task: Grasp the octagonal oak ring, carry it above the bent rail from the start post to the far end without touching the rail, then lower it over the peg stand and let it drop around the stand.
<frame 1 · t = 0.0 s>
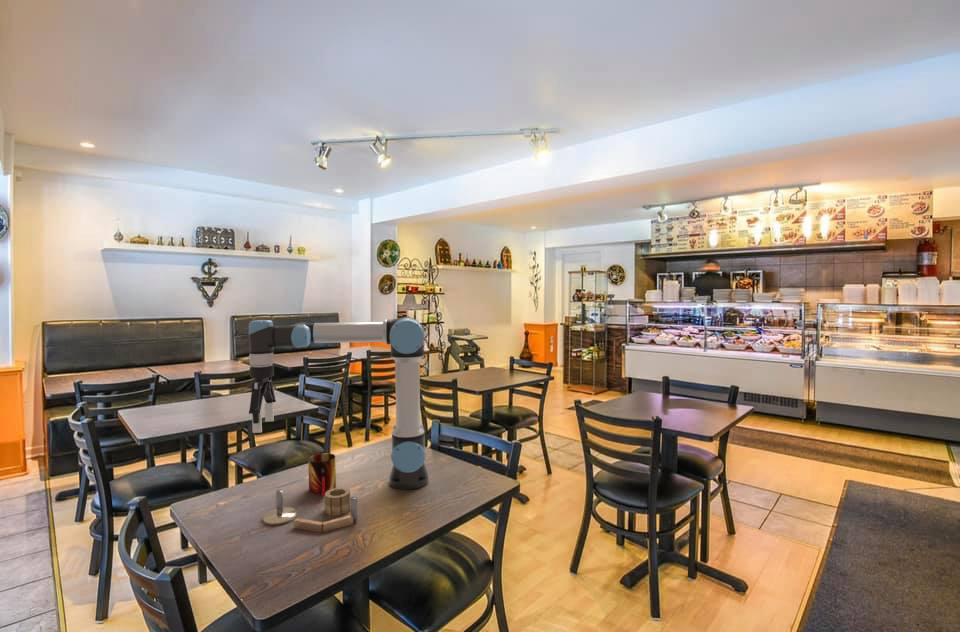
hand: (263, 426, 162), 28 cm above the table, fingers open, 13 cm apart
oak ring: (337, 509, 161), on the table
bent rail: (322, 526, 150), on the table
peg stand: (280, 517, 155), on the table
mug: (325, 491, 177), on the table
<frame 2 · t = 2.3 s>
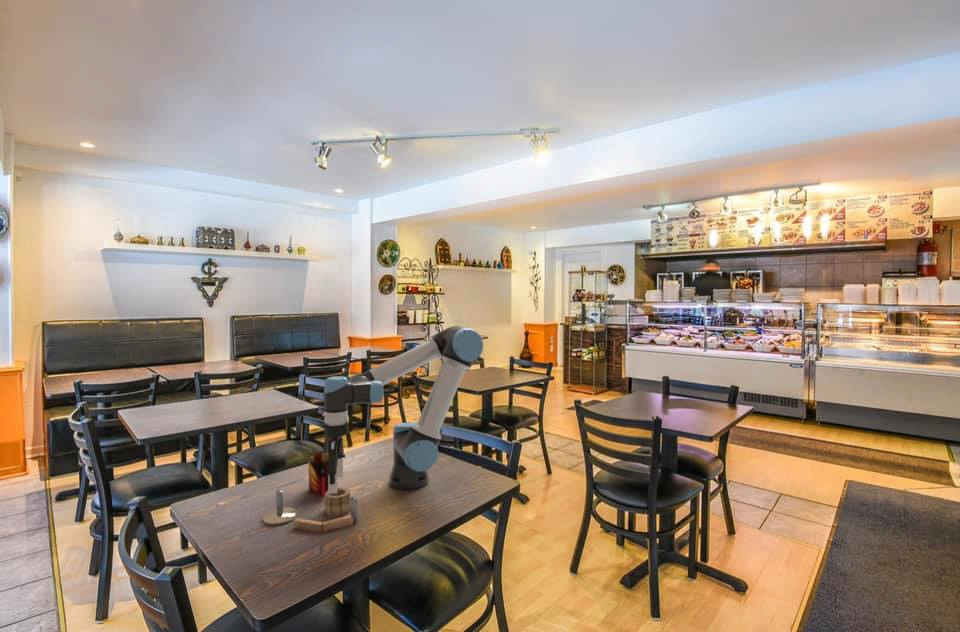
hand: (335, 484, 160), 9 cm above the table, fingers open, 13 cm apart
nothing on the table moved.
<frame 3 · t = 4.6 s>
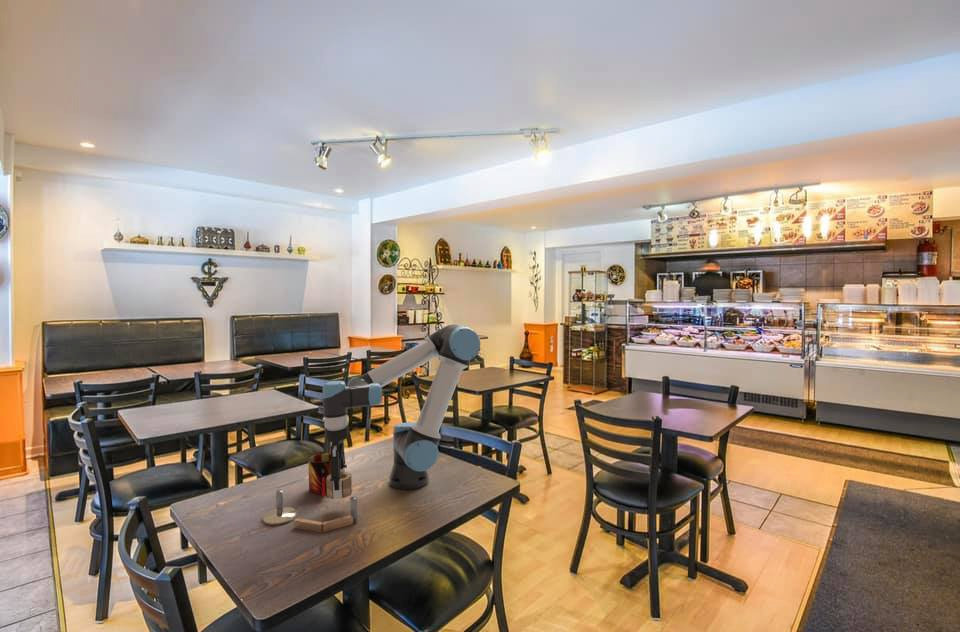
hand: (339, 492, 161), 6 cm above the table, fingers closed on oak ring, 8 cm apart
oak ring: (339, 493, 161), point 5 cm above the table, touching gripper
everything else where it was.
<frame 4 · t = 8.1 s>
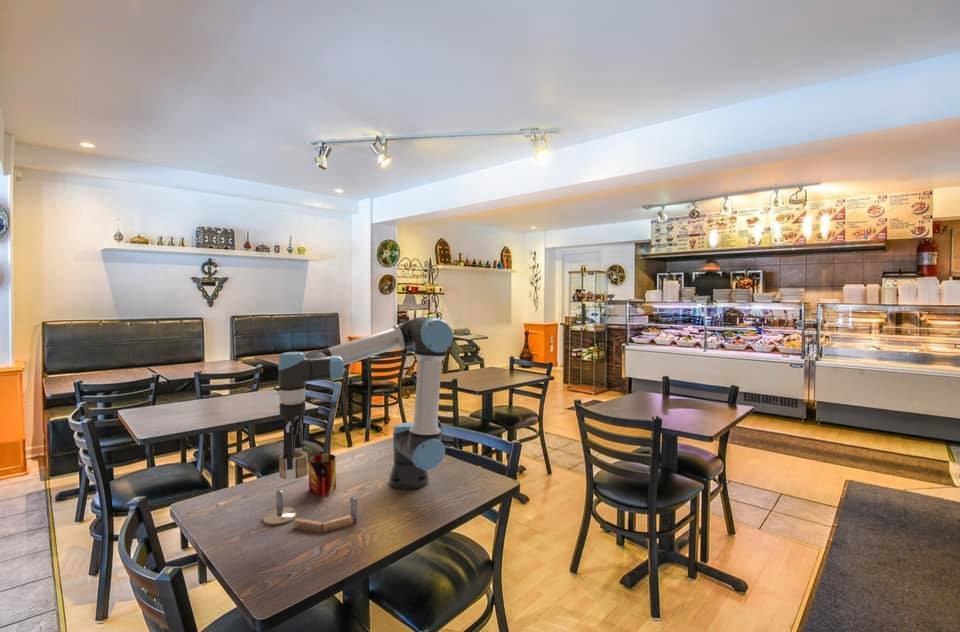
hand: (294, 473, 149), 17 cm above the table, fingers closed on oak ring, 8 cm apart
oak ring: (294, 474, 149), point 17 cm above the table, touching gripper
everything else where it was.
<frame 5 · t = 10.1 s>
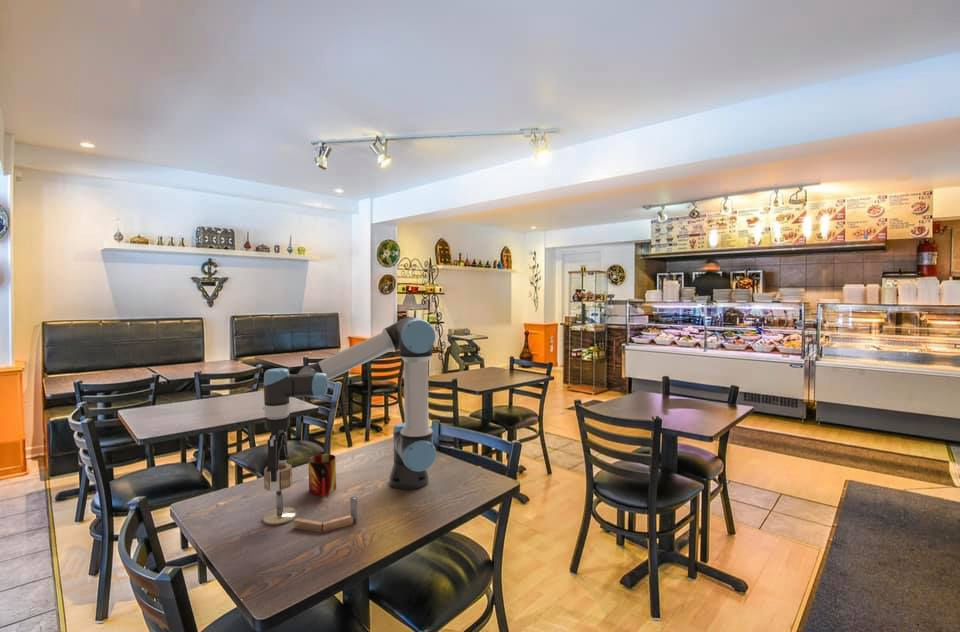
hand: (278, 484, 155), 11 cm above the table, fingers closed on oak ring, 8 cm apart
oak ring: (278, 485, 155), point 11 cm above the table, touching gripper
everything else where it was.
when the fingers open (5 cm above the table, at t = 11.7 s): oak ring drops 3 cm, resting on peg stand.
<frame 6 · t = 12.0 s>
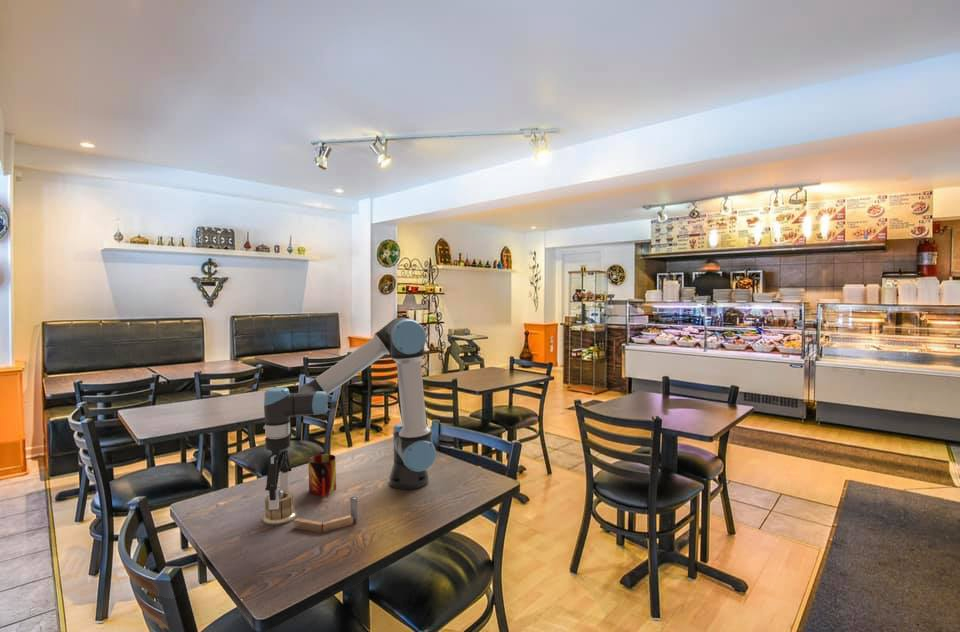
hand: (279, 499, 155), 6 cm above the table, fingers open, 12 cm apart
oak ring: (279, 514, 155), point 1 cm above the table, touching peg stand
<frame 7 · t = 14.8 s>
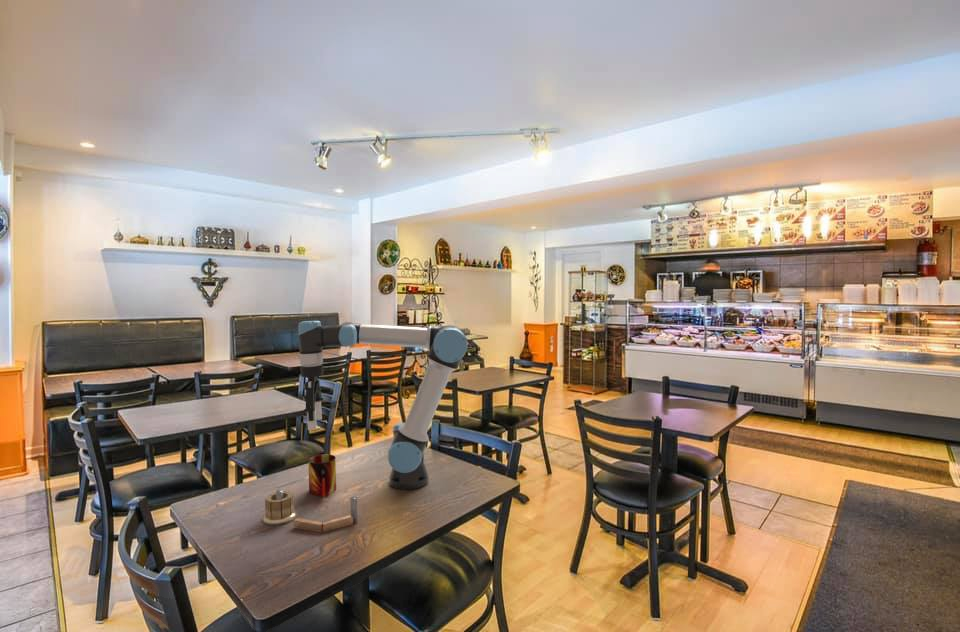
hand: (315, 424, 167), 27 cm above the table, fingers open, 13 cm apart
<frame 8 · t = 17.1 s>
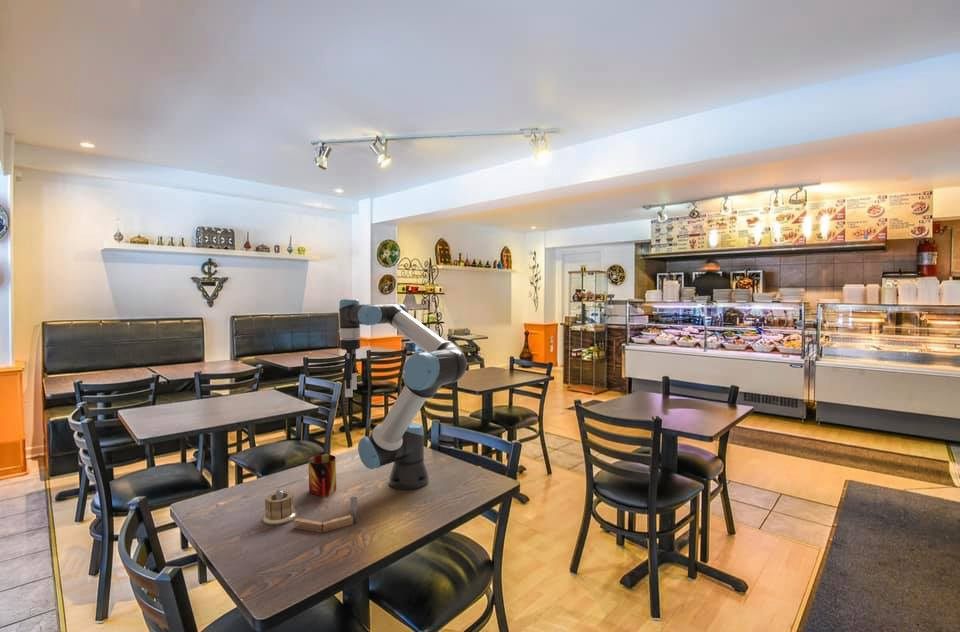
hand: (351, 393, 184), 35 cm above the table, fingers open, 13 cm apart
at the end: oak ring 0.1 cm off-centre on the peg stand, point 1.2 cm above the peg stand's base; oak ring tilted 0°; oak ring touching peg stand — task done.
